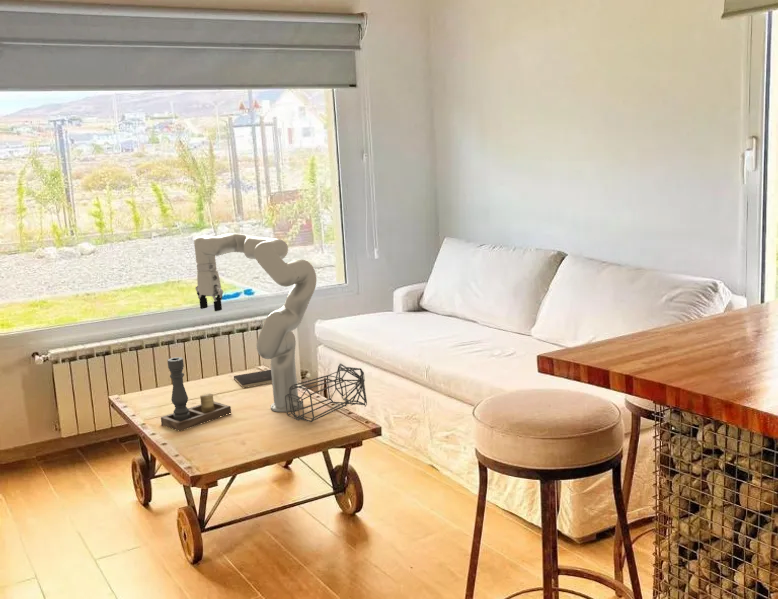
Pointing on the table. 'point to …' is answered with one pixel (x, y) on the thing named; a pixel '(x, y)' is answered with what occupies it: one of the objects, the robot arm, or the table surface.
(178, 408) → the candle holder
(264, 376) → the hardcover book
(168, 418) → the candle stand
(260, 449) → the table surface
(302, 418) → the geometric lantern
